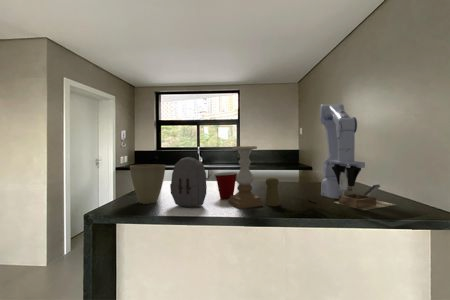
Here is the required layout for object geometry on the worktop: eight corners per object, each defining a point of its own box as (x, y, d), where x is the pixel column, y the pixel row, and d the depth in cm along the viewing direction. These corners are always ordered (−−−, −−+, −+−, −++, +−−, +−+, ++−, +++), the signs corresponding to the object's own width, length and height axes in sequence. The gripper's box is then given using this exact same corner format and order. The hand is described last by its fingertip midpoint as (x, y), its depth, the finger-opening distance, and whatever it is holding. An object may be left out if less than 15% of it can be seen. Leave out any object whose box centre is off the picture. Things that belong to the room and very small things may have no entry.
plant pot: (153, 207, 104) (152, 167, 104) (122, 204, 109) (121, 166, 109) (172, 199, 118) (171, 164, 118) (144, 197, 123) (144, 163, 123)
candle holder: (239, 209, 100) (238, 146, 100) (227, 203, 110) (226, 146, 110) (263, 206, 105) (263, 146, 104) (250, 200, 115) (249, 146, 114)
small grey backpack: (209, 205, 106) (209, 156, 106) (201, 210, 98) (201, 157, 98) (176, 203, 111) (175, 156, 110) (166, 208, 103) (165, 157, 102)
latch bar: (360, 200, 108) (359, 198, 109) (365, 199, 110) (364, 197, 110) (375, 187, 102) (373, 184, 103) (380, 186, 104) (378, 184, 104)
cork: (279, 206, 104) (279, 178, 103) (264, 205, 105) (264, 178, 105) (279, 203, 110) (279, 176, 109) (265, 202, 111) (265, 176, 111)
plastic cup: (223, 195, 127) (223, 170, 127) (242, 197, 121) (242, 171, 120) (209, 199, 118) (209, 172, 118) (229, 202, 112) (228, 174, 112)
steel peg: (336, 189, 101) (337, 171, 100) (345, 188, 102) (345, 171, 102) (346, 191, 97) (346, 172, 96) (354, 190, 98) (355, 172, 98)
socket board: (333, 205, 105) (333, 194, 105) (363, 200, 113) (363, 190, 113) (364, 213, 93) (364, 201, 92) (396, 207, 100) (396, 196, 100)
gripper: (323, 149, 104) (323, 183, 105) (355, 150, 91) (354, 189, 91) (336, 148, 107) (336, 182, 107) (369, 149, 94) (368, 187, 94)
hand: (345, 185), depth 100 cm, fingers closed on steel peg, 4 cm apart
